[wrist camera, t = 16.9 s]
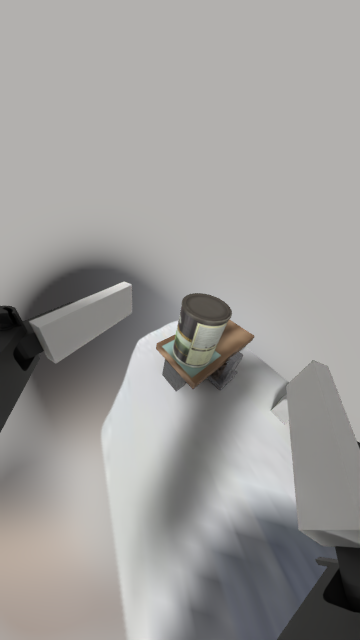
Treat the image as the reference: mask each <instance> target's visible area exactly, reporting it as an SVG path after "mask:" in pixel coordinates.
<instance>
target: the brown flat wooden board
mask: <svg viewBox="0 0 360 640" xmlns="http://www.w3.org/2000/svg"><path fill="white" fill-rule="evenodd" d="M175 336H176V335H174V336H171V337H169V338H167V339H165V340H163V341H161V342H159V343H157V346H156V349H157V350H158V351H159V352H160V353H161V355H162V356H163V357H164V358H165V359H166V360H167V361H168V362H169V363H170V365H171V366H172V367H173V368H174V369H175V370H176V371H177V372H178V373H179V374H180V376H181V377H182V378H183V379H184V380H185V381H186V382H187V383H188V384H189V386H190V387H191V388H192V389H194V388H195V387H196V386H198V385H199V384H200V383H201V382H202V381H204V380H205V379H206V378H207V377H208V376H210V375H211V374H212V373H213V372H214V371H216V370H217V369H218V368H219V367H221V366H222V365H223V364H224V363H225V362H227V361H229V360H230V358H231V357H233V356H234V355H235V354H236V353H237V352H239V351H240V350H241V349H242V348H243V347H245V346H246V345H247V344H248V343H249V342H251V341H252V339H253V338H254V335H252V334H251V333H249V332H247V331H246V330H244V329H243V328H241V327H240V326H238V325H237V324H235V323H234V322H232V321H231V320H228V322H227V325H226V327H225V329H224V331H223V333H222V335H221V338H220V340H219V342H218V344H217V346H216V349H215V351H214V353H213V355H212V358H211V360H210V362H209V363H208V364H207V365H206V366H203V367H200V368H192V367H188V366H185V365H183V364H182V363H180V362H179V361H178V360H177V359H176V358H175V356H174V354H173V345H174V341H175Z"/></svg>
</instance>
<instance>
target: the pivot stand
mask: <svg viewBox="0 0 360 640" xmlns="http://www.w3.org/2000/svg"><path fill="white" fill-rule="evenodd" d="M242 357H243V355H242V354H241V353H240V352H237V353H236V354H235V355H234V356H233V357H231V358H230V360H229V362H228V363H227V364H226V363H224V364H223V365H222V366H221V367H219V368H218V369H217V370H216V371H214V372H213V373H212V374H211V375H210V376H208V377H207V378H208V379H209V380H210V381H211V382H212V383H213V384H214V385H215V386H216V387H217V388H218V389H219V390H221V389H222V388H223V387H224V386H225V385H226V384H227V383H228V382H229V381H230V380H231V379H232V378H233V377H234V376H235V375H236V374H237V372H236V371H235V370H234V369H235V368H236V366H237V365H238V363H239V361H240V360H241V358H242ZM162 375H163V376H164V377H165V378H166V380H167V381H168V382H169V383H170V385H171V386H172V387H173V388H174V389H175V391H177V390H179V389H180V388H181V387H183V386H184V385H185V382H186V381H185V380H184V379H183V378H182V377H181V376H180V374H179V373H178V372H177V371H176V370H175V369H174V368H173V367H172V366H171V365H170V363H169V362H168V361H167V360H166V359H165V363H164V368H163V374H162Z"/></svg>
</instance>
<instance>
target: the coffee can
mask: <svg viewBox="0 0 360 640" xmlns="http://www.w3.org/2000/svg"><path fill="white" fill-rule="evenodd" d="M231 315H232V311H231V309H230V307H229V306H228V305H227V304H226V303H225V302H224V301H222V300H220V299H219V298H216V297H214V296H211V295H207V294H200V293H199V294H198V293H195V294H189V295H187V296H186V297H184V298H183V300H182V307H181V312H180V317H179V322H178V327H177V331H176V336H175V341H174V345H173V354H174V356H175V358H176V359H177V360H178V361H179V362H180V363H182V364H183V365H185V366H188V367H192V368H200V367H203V366H206V365H207V364H208V363H209V362H210V360H211V358H212V355H213V353H214V351H215V349H216V346H217V344H218V342H219V340H220V338H221V335H222V333H223V331H224V329H225V327H226V325H227V322H228V320H229V319H230V318H231Z"/></svg>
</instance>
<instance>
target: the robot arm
mask: <svg viewBox="0 0 360 640" xmlns="http://www.w3.org/2000/svg"><path fill="white" fill-rule="evenodd" d="M131 313H132V285H131V284H128V283H126V282H122V283H120V284H117V285H115V286H113V287H111V288H108V289H106V290H103V291H101V292H98V293H96V294H94V295H91V296H89V297H86V298H84V299H82V300H79V301H76V302H71V303H67V304H65V305H62V306H61V307H57V308H55V309H54V310H50V311H48V312H45V313H43V314H40V315H38V316H35V317H33V318H30V319H28V320H25V321H22V320H21V318H20V316H19V314H18V312H17V311H16V309H15V308H14V307H12V306H0V432H1V430H2V428H3V426H4V425H5V423H6V421H7V419H8V417H9V415H10V413H11V411H12V410H13V408H14V406H15V404H16V402H17V400H18V398H19V396H20V394H21V393H22V391H23V389H24V387H25V385H26V383H27V381H28V380H29V378H30V376H31V374H32V372H33V370H34V368H35V366H36V365H37V362H38V361H39V359H40V353H41V352H43V351H44V352H45V354H46V356H47V358H49V359H50V360H51V361H53V362H54V363H57V362H59V361H60V360H62V359H63V358H65V357H66V356H68V355H69V354H71V353H72V352H74V351H75V350H77V349H78V348H80V347H82V346H83V345H85V344H86V343H88V342H89V341H91V340H92V339H94V338H95V337H96V336H98V335H100V334H101V333H102V332H104V331H106V330H107V329H109V328H110V327H112V326H113V325H115V324H116V323H118V322H119V321H120V320H122V319H124V318H125V317H127V316H128V315H130V314H131ZM286 391H287V402H288V414H289V425H290V437H291V448H292V460H293V471H294V483H295V494H296V506H297V517H298V528H299V530H300V531H301V532H303V533H304V534H305V535H307V536H308V537H310V538H311V539H313V540H314V541H316V542H317V543H319V544H320V545H322V546H331V547H335V548H336V553H337V558H338V560H337V559H331V558H324V557H319V558H317V559H315V560H316V562H317V563H318V565H322V566H327V568H326V570H325V571H324V572H323V574H322V576H321V577H320V578H319V580H318V581H317V583H316V584H315V586H314V587H313V588H312V590H311V591H310V593H309V594H308V596H307V597H306V598H305V600H304V601H303V603H302V604H301V606H300V607H299V609H298V610H297V611H296V613H295V614H294V616H293V617H292V619H291V620H290V621H289V623H288V624H287V626H286V627H285V629H284V630H283V631H282V633H281V634H280V636H279V637H278V639H277V640H360V443H359V442H357V441H356V438H355V435H354V433H353V430H352V428H351V425H350V422H349V420H348V418H347V415H346V413H345V410H344V407H343V405H342V402H341V399H340V397H339V394H338V391H337V389H336V386H335V384H334V381H333V378H332V376H331V373H330V371H329V368H328V366H326V365H323V364H321V363H318V362H316V361H314V360H313V361H312V362H311V363H310V364H309V365H308V366H307V367H306V368H304V369H303V370H302V371H301V372H300V373H299V374H298V375H297V376H296V377H295V378H294V379H293V380H292V381H291V382H290V383H289V384H288V385H286Z"/></svg>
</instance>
